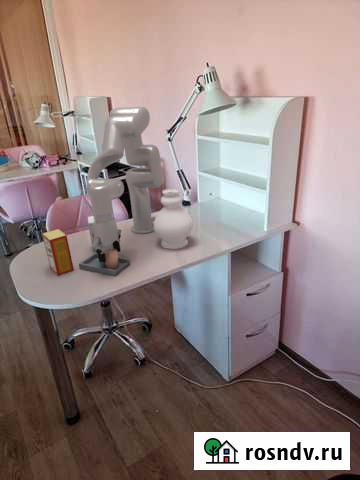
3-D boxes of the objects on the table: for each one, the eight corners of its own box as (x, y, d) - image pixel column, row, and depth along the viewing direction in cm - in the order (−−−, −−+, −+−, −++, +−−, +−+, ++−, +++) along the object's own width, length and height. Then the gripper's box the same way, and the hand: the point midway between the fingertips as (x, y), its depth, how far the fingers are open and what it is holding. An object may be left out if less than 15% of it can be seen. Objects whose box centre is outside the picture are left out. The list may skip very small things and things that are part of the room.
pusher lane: (96, 257, 146) (95, 252, 145) (130, 264, 139) (129, 259, 138) (79, 268, 138) (78, 263, 137) (115, 276, 130) (114, 271, 129)
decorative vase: (189, 252, 146) (187, 197, 136) (150, 250, 149) (145, 196, 139) (196, 236, 162) (194, 185, 151) (160, 234, 165) (156, 185, 155)
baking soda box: (50, 267, 140) (41, 232, 134) (65, 262, 144) (57, 228, 137) (58, 276, 133) (49, 239, 127) (74, 270, 137) (66, 234, 130)
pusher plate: (110, 260, 141) (109, 251, 140) (112, 260, 141) (111, 251, 139) (98, 269, 135) (96, 259, 133) (100, 269, 134) (98, 260, 132)
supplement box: (93, 254, 150) (87, 223, 144) (92, 246, 158) (87, 216, 152) (113, 250, 152) (108, 219, 146) (111, 243, 160) (107, 213, 154)
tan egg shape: (111, 262, 140) (108, 247, 137) (121, 264, 138) (119, 249, 135) (102, 268, 136) (100, 253, 133) (113, 271, 133) (111, 255, 130)
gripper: (109, 208, 136) (115, 246, 143) (80, 223, 122) (88, 264, 129) (124, 210, 133) (129, 248, 140) (97, 225, 119) (104, 267, 126)
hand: (110, 256), depth 135 cm, fingers open, 9 cm apart
